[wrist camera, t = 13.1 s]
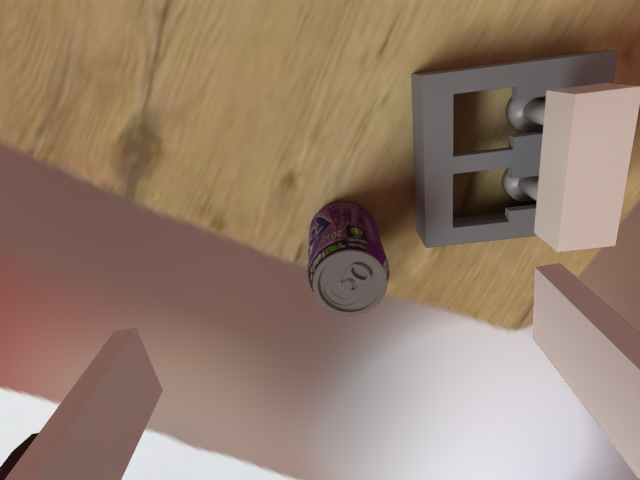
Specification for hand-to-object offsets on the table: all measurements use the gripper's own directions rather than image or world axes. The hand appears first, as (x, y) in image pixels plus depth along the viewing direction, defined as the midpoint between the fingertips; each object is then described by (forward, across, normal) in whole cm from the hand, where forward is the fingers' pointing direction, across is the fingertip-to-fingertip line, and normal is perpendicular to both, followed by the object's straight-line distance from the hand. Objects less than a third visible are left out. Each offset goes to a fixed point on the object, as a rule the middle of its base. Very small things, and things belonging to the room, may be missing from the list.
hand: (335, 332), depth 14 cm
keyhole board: (+31, +17, -3) cm, 35 cm away
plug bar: (+31, +20, -3) cm, 37 cm away
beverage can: (+31, 0, -9) cm, 32 cm away
